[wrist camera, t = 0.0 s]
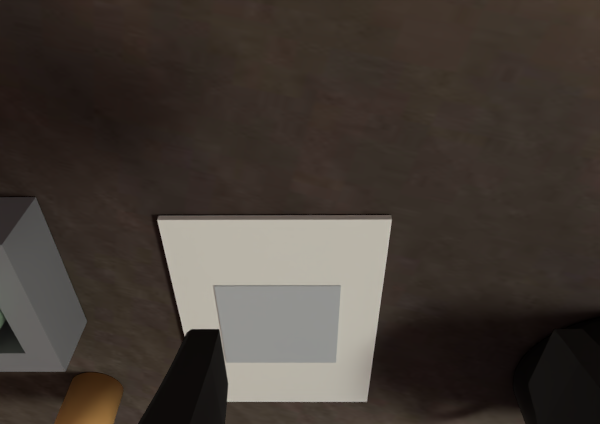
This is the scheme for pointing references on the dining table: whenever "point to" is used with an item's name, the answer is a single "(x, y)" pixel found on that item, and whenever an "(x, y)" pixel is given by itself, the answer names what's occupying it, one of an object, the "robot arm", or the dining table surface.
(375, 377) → the dining table surface
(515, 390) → the mug
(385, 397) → the dining table surface
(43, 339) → the button housing
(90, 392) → the bottle
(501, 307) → the dining table surface
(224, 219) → the paper
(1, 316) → the button
